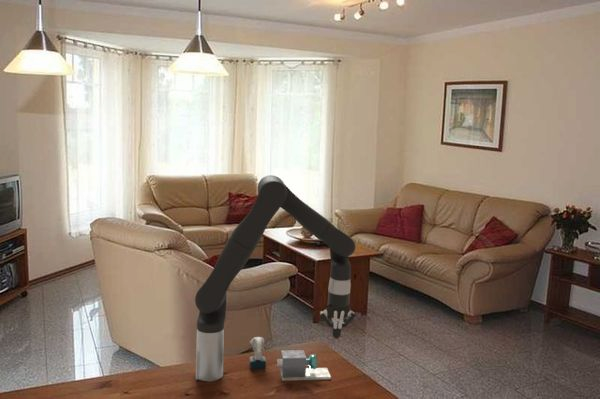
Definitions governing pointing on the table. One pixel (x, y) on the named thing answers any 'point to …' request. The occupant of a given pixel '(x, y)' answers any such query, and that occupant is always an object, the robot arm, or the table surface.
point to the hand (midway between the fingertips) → (336, 337)
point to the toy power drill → (257, 354)
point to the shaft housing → (300, 367)
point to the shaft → (309, 362)
